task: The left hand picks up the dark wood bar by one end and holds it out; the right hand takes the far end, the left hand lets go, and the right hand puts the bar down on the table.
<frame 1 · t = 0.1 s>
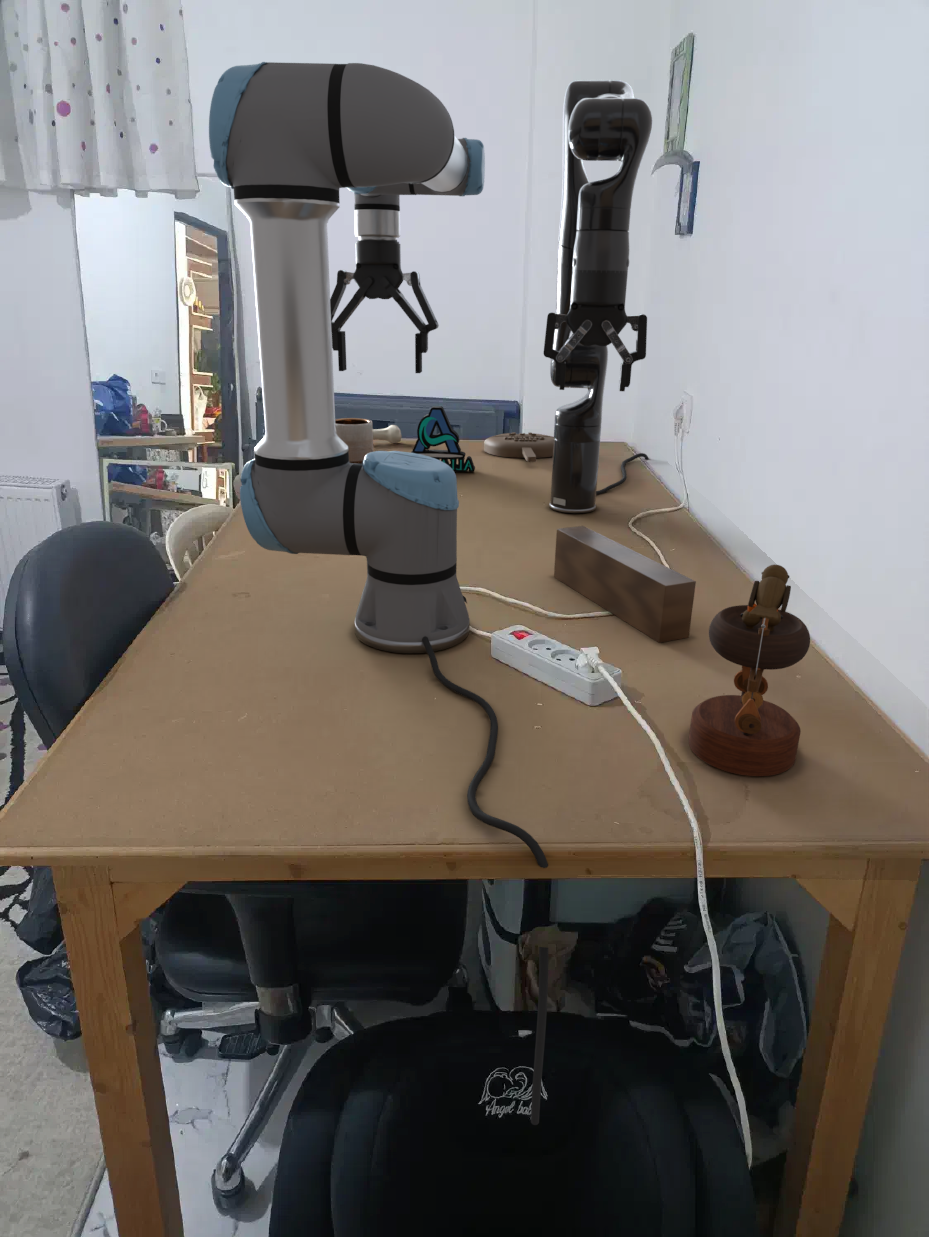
left hand: (380, 371, 149), 28 cm above the table, tool pointing down, fingers open, 13 cm apart
right hand: (591, 390, 121), 29 cm above the table, tool pointing down, fingers open, 8 cm apart
brown wooden stacked piece: (739, 746, 87), on the table
dog toy: (365, 443, 235), on the table
decorative sign: (435, 470, 204), on the table
bar: (615, 604, 123), on the table
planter: (352, 460, 214), on the table
ice cream bar: (525, 456, 222), on the table
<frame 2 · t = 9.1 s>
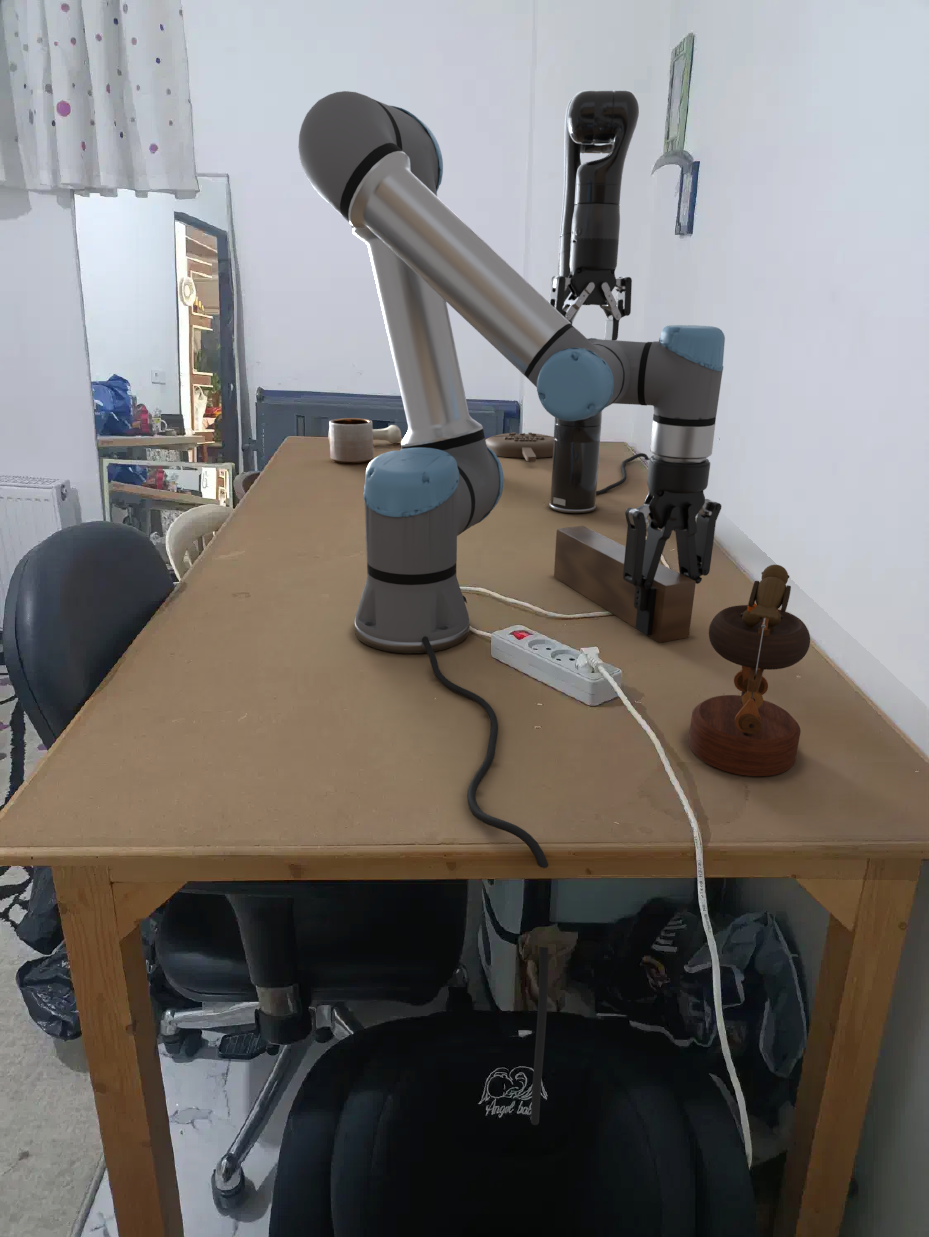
left hand: (660, 628, 114), 1 cm above the table, tool pointing down, fingers closed on bar, 5 cm apart
right hand: (587, 344, 140), 34 cm above the table, tool pointing down, fingers open, 8 cm apart
bar: (615, 604, 123), on the table, touching left hand
everything else where it was.
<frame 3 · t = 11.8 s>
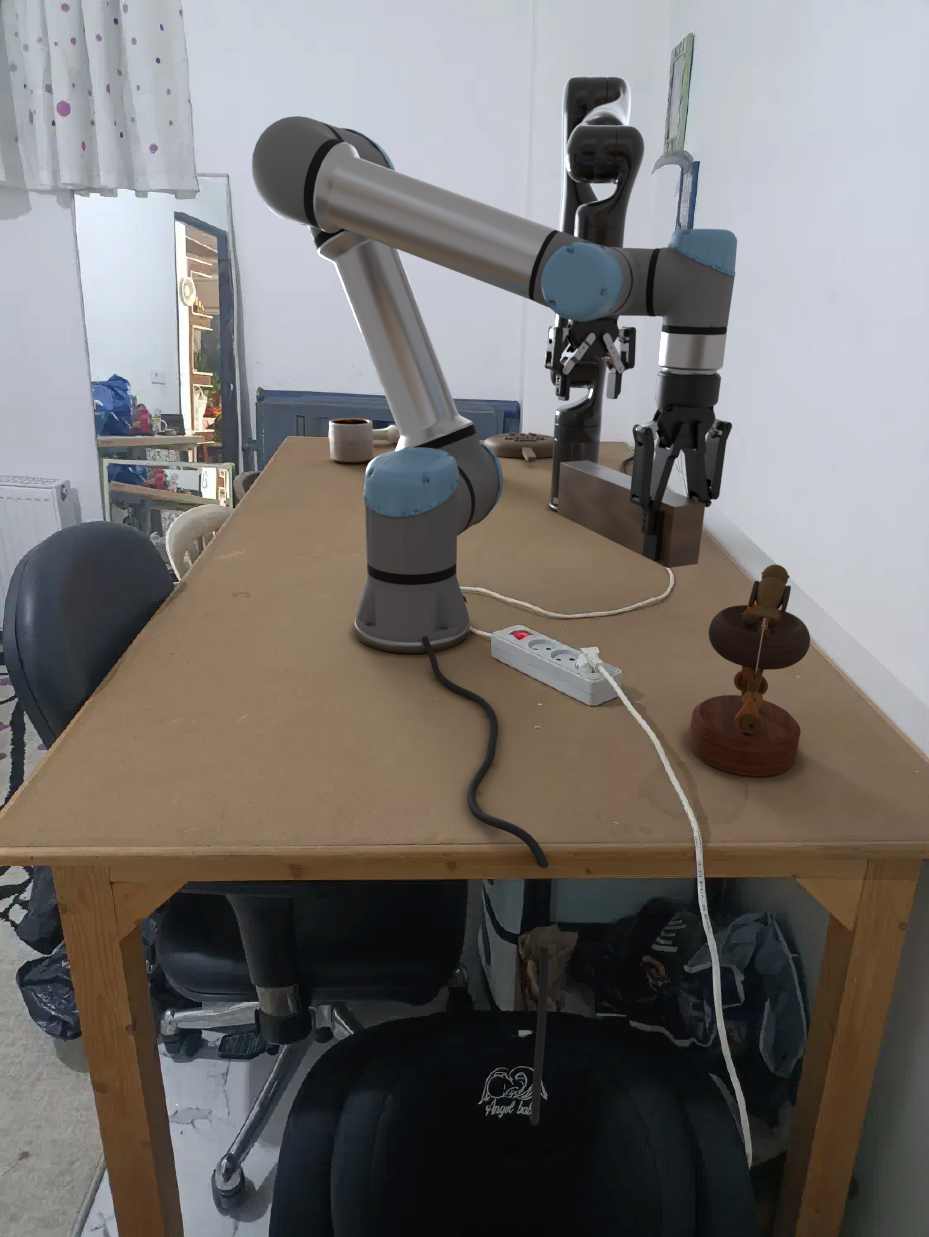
left hand: (668, 555, 110), 11 cm above the table, tool pointing down, fingers closed on bar, 5 cm apart
right hand: (587, 399, 127), 27 cm above the table, tool pointing down, fingers open, 8 cm apart
bar: (621, 536, 120), point 10 cm above the table, touching left hand
everything else where it was.
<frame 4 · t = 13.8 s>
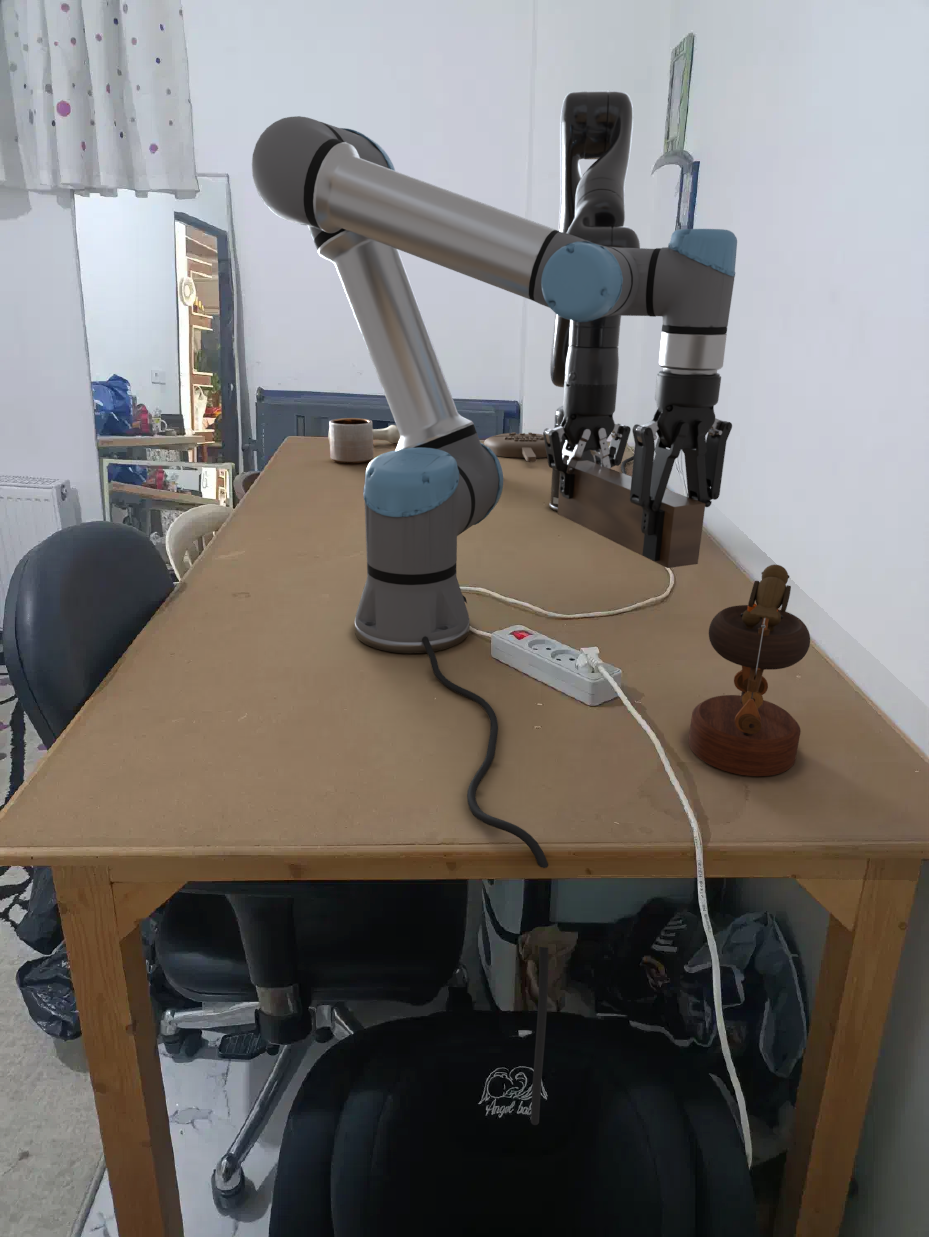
left hand: (668, 555, 110), 11 cm above the table, tool pointing down, fingers closed on bar, 5 cm apart
right hand: (582, 495, 127), 14 cm above the table, tool pointing down, fingers closed on bar, 4 cm apart
bar: (621, 536, 120), point 10 cm above the table, touching left hand, right hand
everything else where it was.
when the left hand's fingers open (11 cm above the table, at t = 14.7 s): bar stays where it is, held by the right hand.
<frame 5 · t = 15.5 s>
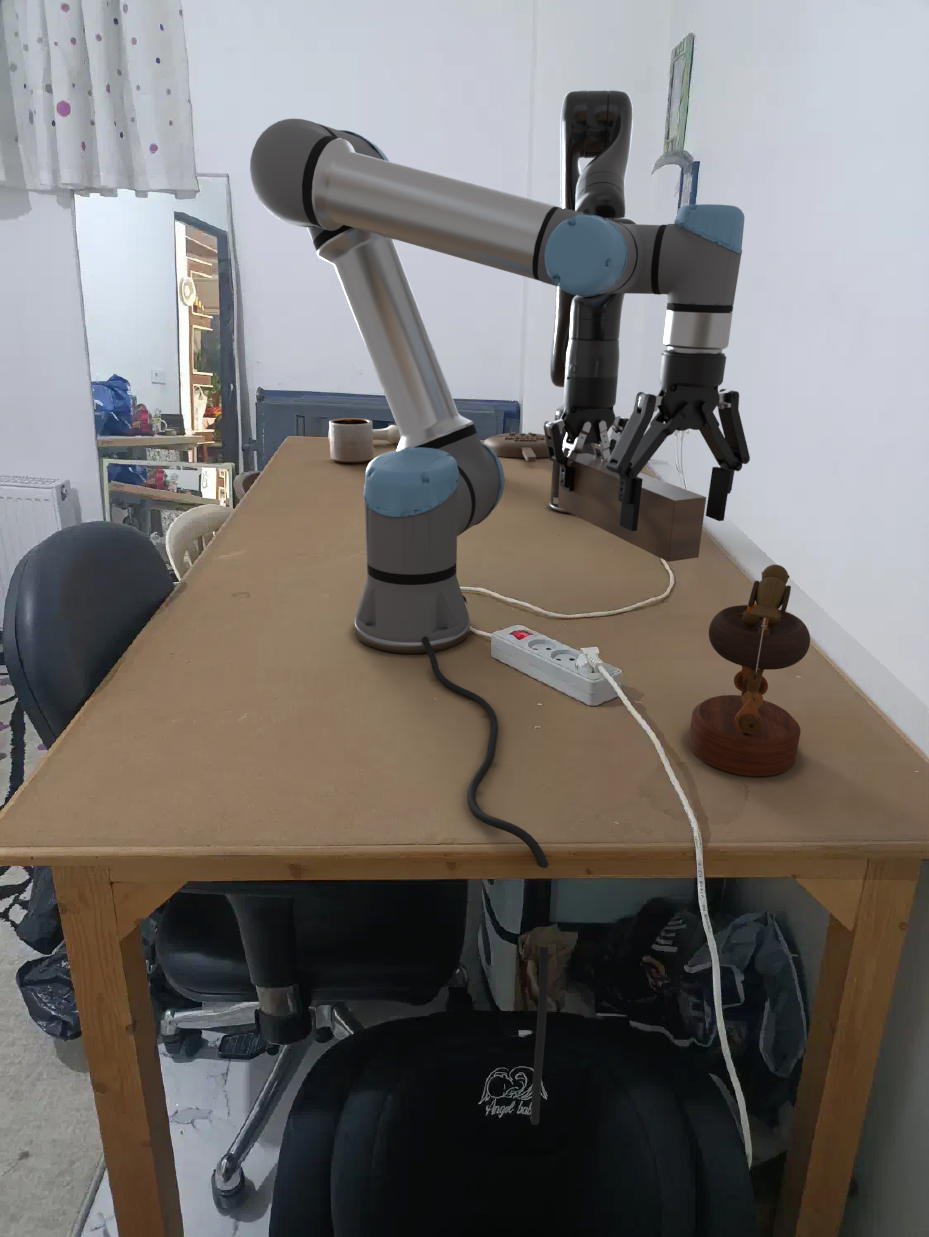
left hand: (672, 523, 108), 15 cm above the table, tool pointing down, fingers open, 13 cm apart
right hand: (583, 488, 127), 15 cm above the table, tool pointing down, fingers closed on bar, 5 cm apart
bar: (621, 529, 120), point 11 cm above the table, touching right hand
everything else where it was.
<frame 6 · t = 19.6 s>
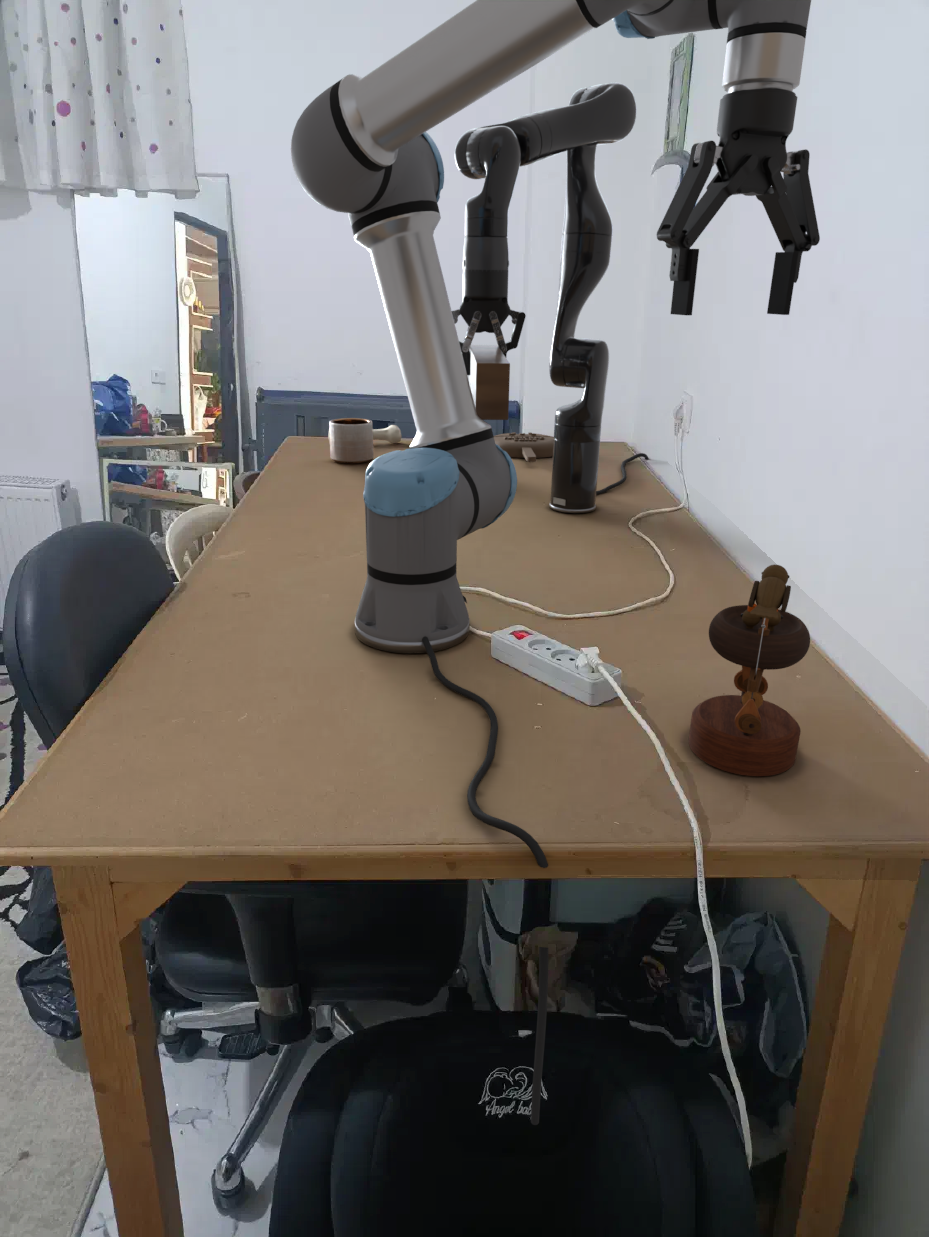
left hand: (730, 315, 94), 41 cm above the table, tool pointing down, fingers open, 13 cm apart
right hand: (483, 374, 145), 28 cm above the table, tool pointing down, fingers closed on bar, 4 cm apart
bar: (486, 404, 136), point 25 cm above the table, touching right hand
everything else where it was.
when the right hand's fingers open (5 cm above the table, at t = 25.6 s): bar drops 1 cm, on the table.
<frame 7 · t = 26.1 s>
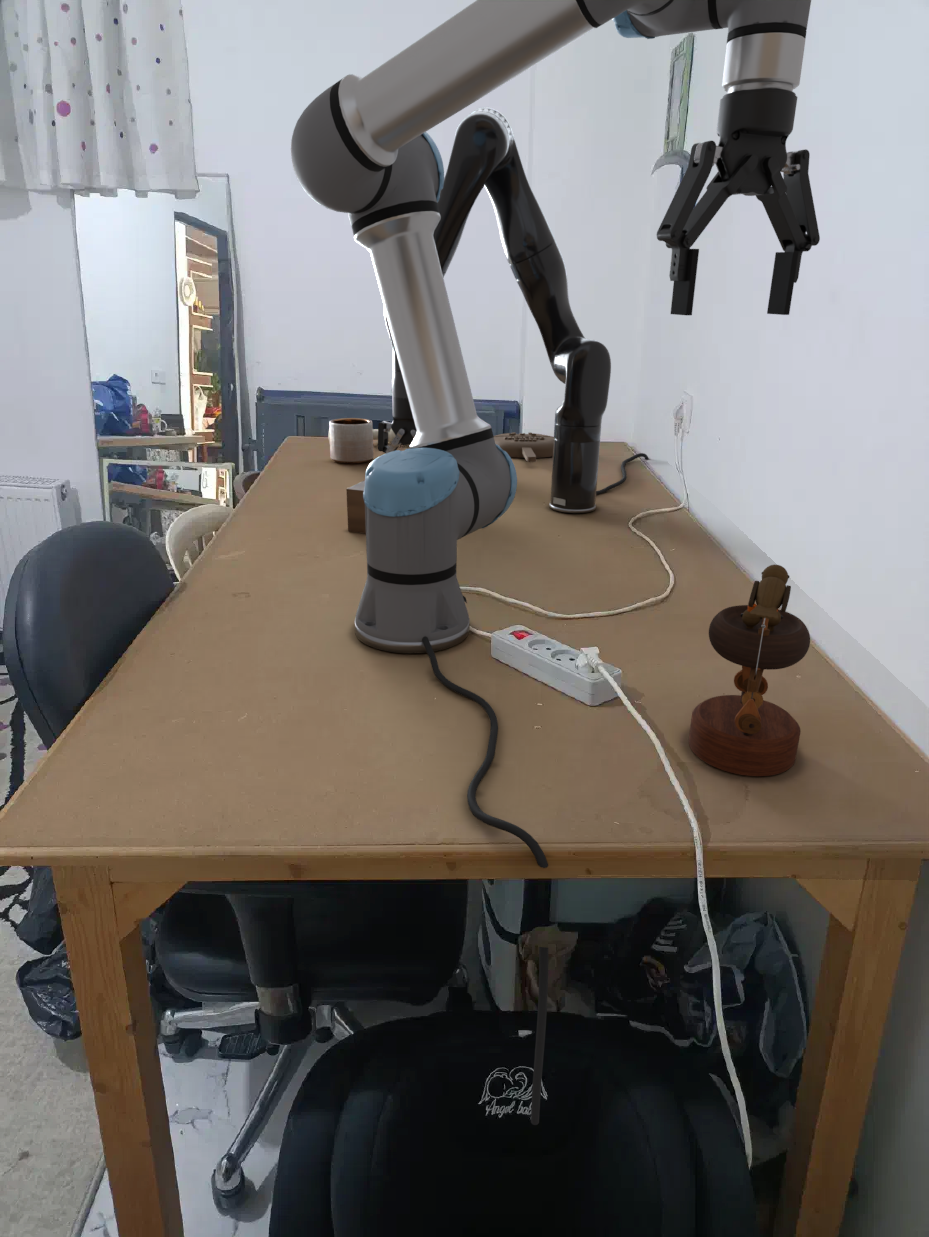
left hand: (730, 315, 94), 41 cm above the table, tool pointing down, fingers open, 13 cm apart
right hand: (411, 474, 175), 6 cm above the table, tool pointing down, fingers open, 8 cm apart
bar: (391, 514, 167), on the table
everything else where it was.
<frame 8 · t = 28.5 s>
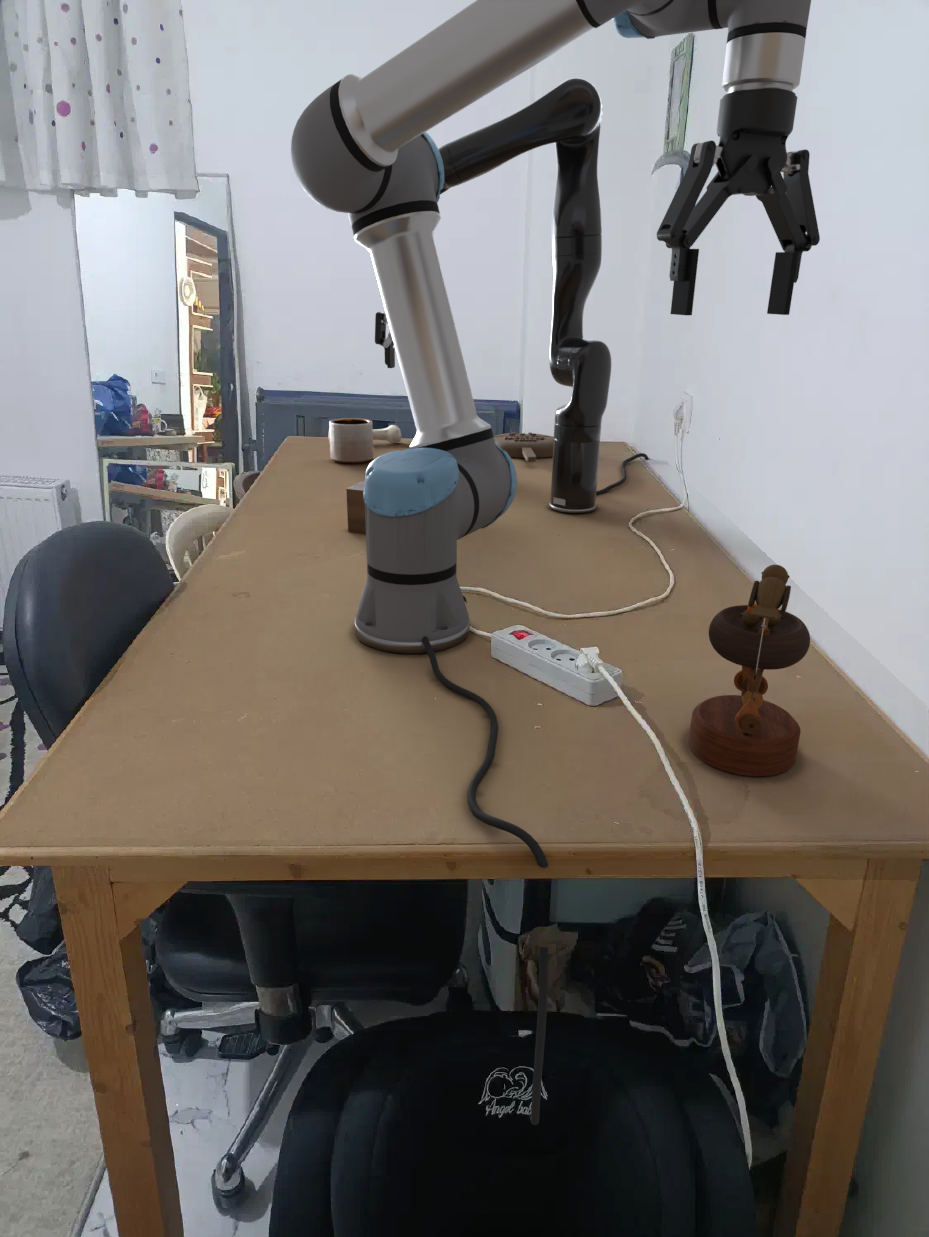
left hand: (730, 315, 94), 41 cm above the table, tool pointing down, fingers open, 13 cm apart
right hand: (410, 368, 167), 27 cm above the table, tool pointing down, fingers open, 8 cm apart
nothing on the table moved.
at the end: bar inside the target area (10.7 cm from its centre), on the table; the left hand is holding nothing; the right hand is holding nothing; bar at rest at the end (0.0 cm/s) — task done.
